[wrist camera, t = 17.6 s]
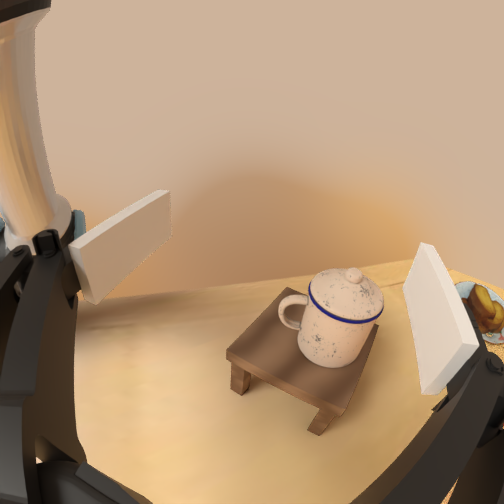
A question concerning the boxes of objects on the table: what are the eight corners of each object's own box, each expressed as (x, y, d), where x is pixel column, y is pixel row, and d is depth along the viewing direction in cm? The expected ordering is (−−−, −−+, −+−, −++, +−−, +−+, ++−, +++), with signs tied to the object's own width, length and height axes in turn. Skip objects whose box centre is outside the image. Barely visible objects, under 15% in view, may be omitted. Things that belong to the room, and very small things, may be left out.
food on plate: (526, 338, 42) (492, 348, 38) (502, 354, 50) (460, 366, 46) (500, 266, 57) (460, 257, 54) (480, 285, 65) (436, 280, 62)
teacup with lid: (355, 323, 38) (382, 255, 32) (364, 372, 30) (403, 302, 24) (275, 313, 39) (288, 241, 33) (269, 364, 31) (285, 288, 25)
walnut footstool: (225, 389, 37) (226, 349, 32) (278, 329, 49) (286, 286, 44) (320, 439, 30) (345, 409, 25) (357, 365, 42) (378, 325, 37)
